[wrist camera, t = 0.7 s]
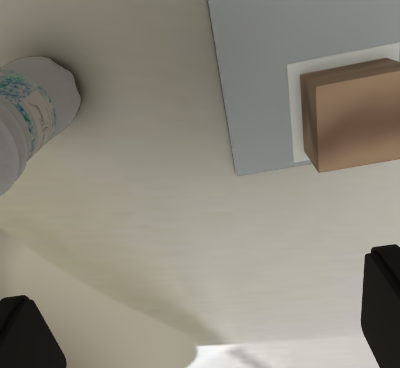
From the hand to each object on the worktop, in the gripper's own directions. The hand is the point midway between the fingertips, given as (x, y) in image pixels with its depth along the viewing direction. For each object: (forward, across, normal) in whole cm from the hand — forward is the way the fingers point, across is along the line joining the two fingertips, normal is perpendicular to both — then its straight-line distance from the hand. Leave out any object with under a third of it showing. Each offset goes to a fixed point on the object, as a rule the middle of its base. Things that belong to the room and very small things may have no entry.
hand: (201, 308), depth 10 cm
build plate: (+24, -10, -1) cm, 26 cm away
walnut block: (+23, -12, +3) cm, 26 cm away
